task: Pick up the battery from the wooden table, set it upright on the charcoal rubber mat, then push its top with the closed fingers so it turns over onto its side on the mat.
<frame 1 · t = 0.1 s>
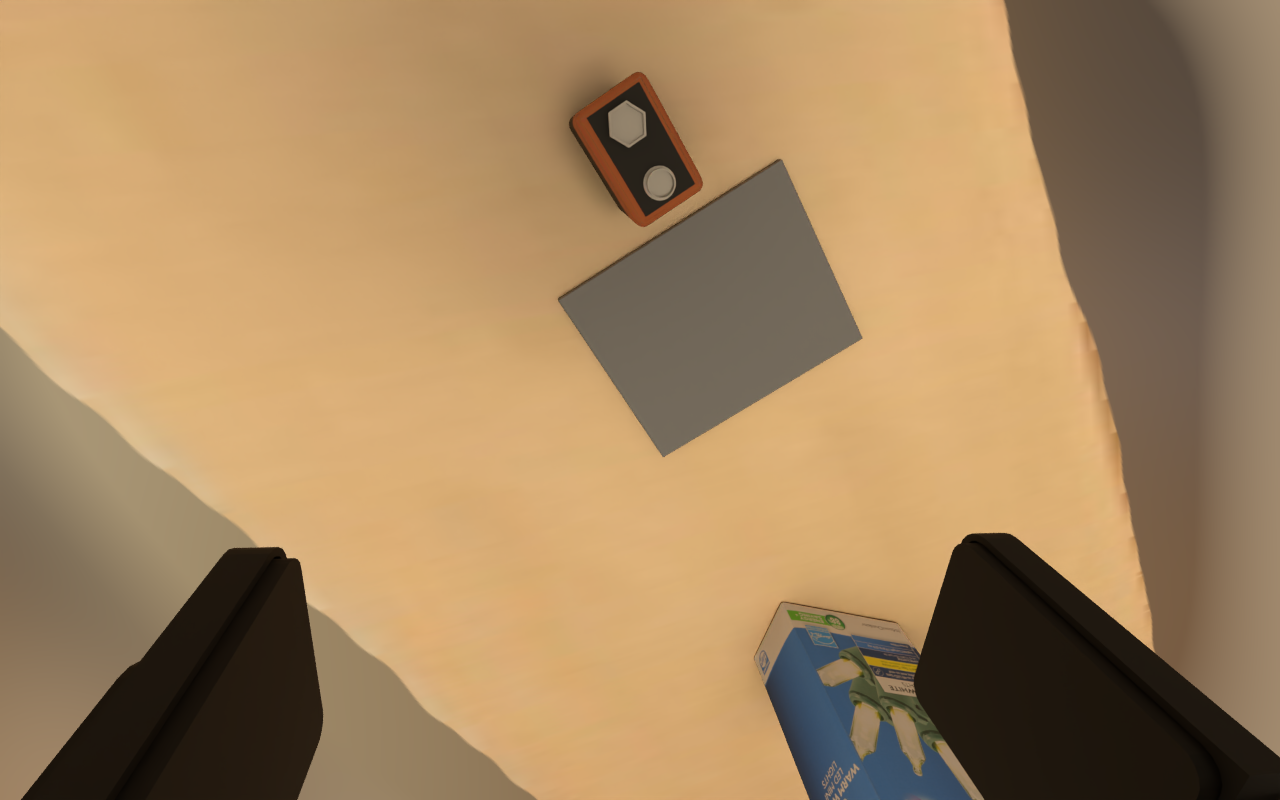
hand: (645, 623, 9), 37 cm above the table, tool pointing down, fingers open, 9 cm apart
mat: (715, 318, 47), on the table
battery: (621, 150, 41), on the table
string lights box: (823, 640, 61), on the table
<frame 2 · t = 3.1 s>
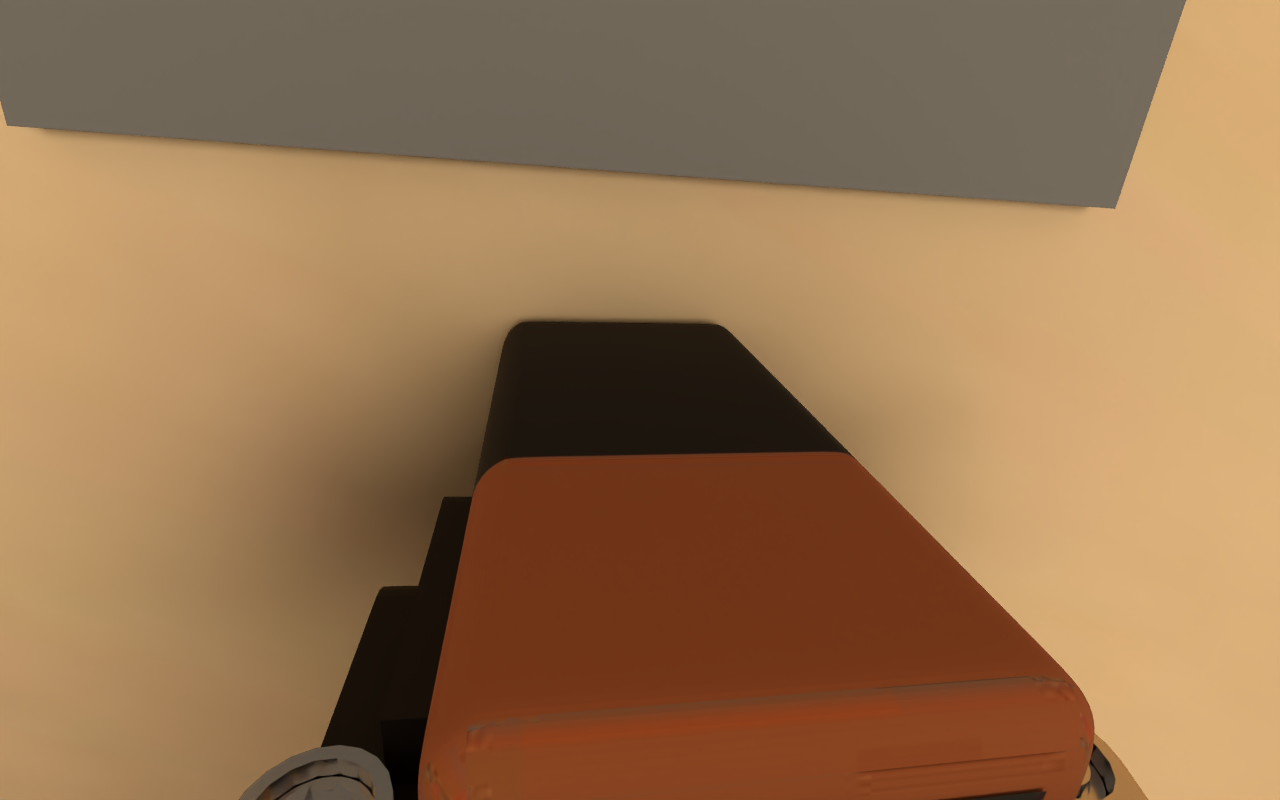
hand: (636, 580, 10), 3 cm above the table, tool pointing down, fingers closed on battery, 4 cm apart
battery: (613, 471, 13), on the table, touching gripper
when the fingers open (5 cm above the table, at t = 8.5 s): battery drops 1 cm, resting on mat.
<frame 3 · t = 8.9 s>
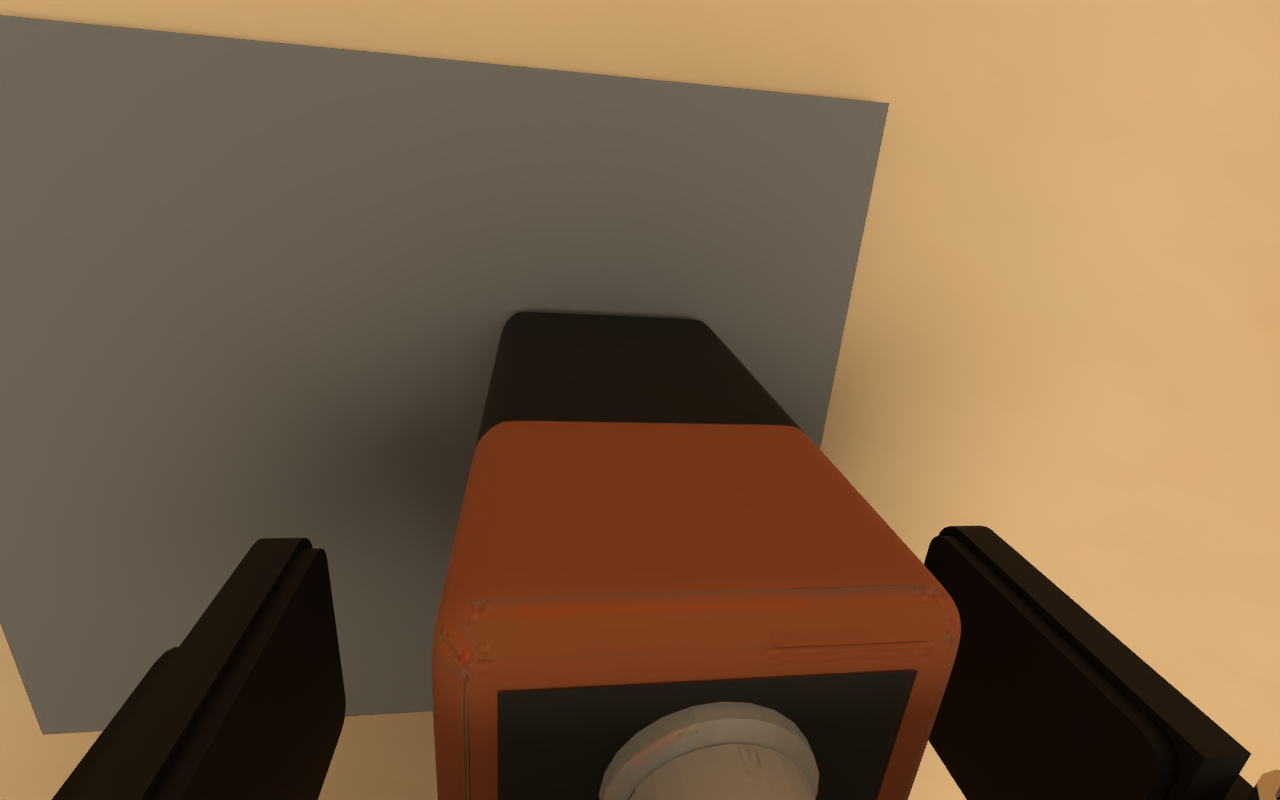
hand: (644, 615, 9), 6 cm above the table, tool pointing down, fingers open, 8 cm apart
mat: (428, 438, 14), on the table
battery: (599, 453, 14), resting on mat
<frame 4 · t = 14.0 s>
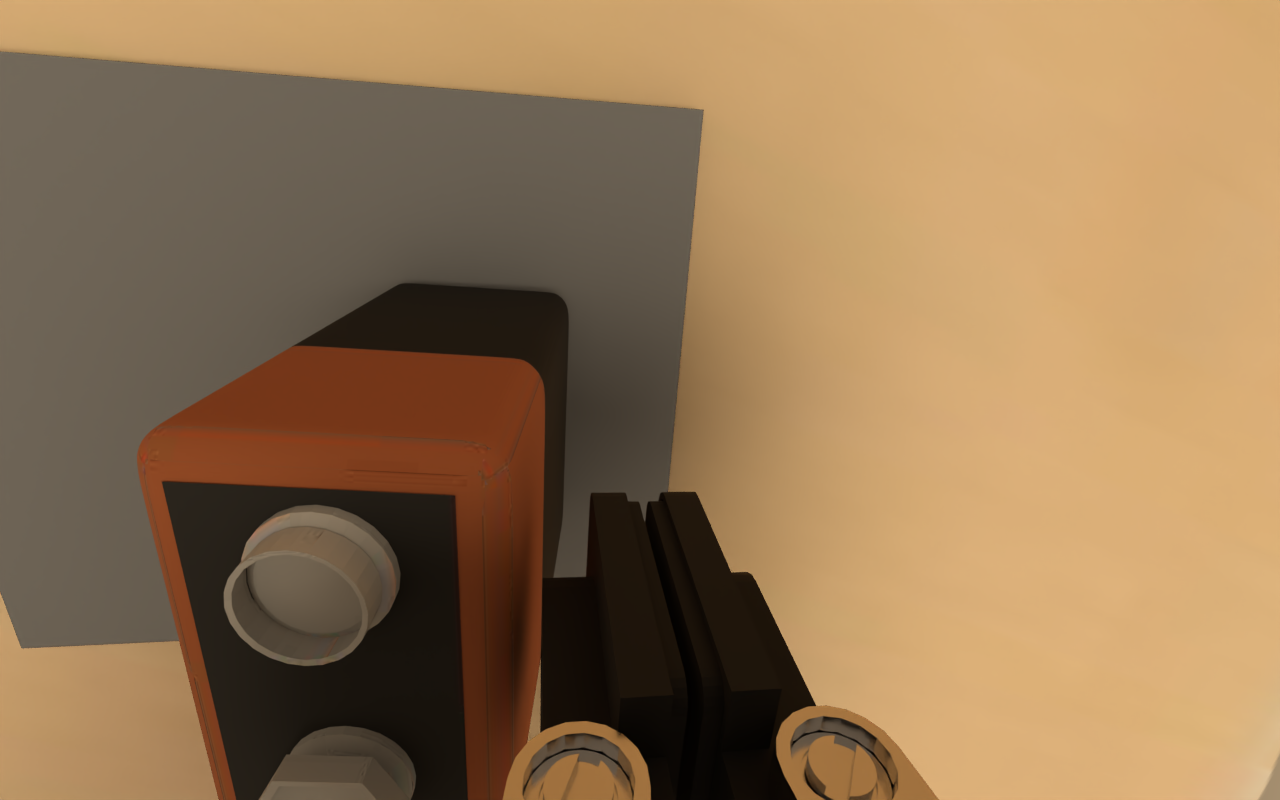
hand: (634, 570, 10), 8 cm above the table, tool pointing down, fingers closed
mat: (341, 392, 17), on the table
battery: (486, 408, 17), point 1 cm above the table, touching gripper, mat
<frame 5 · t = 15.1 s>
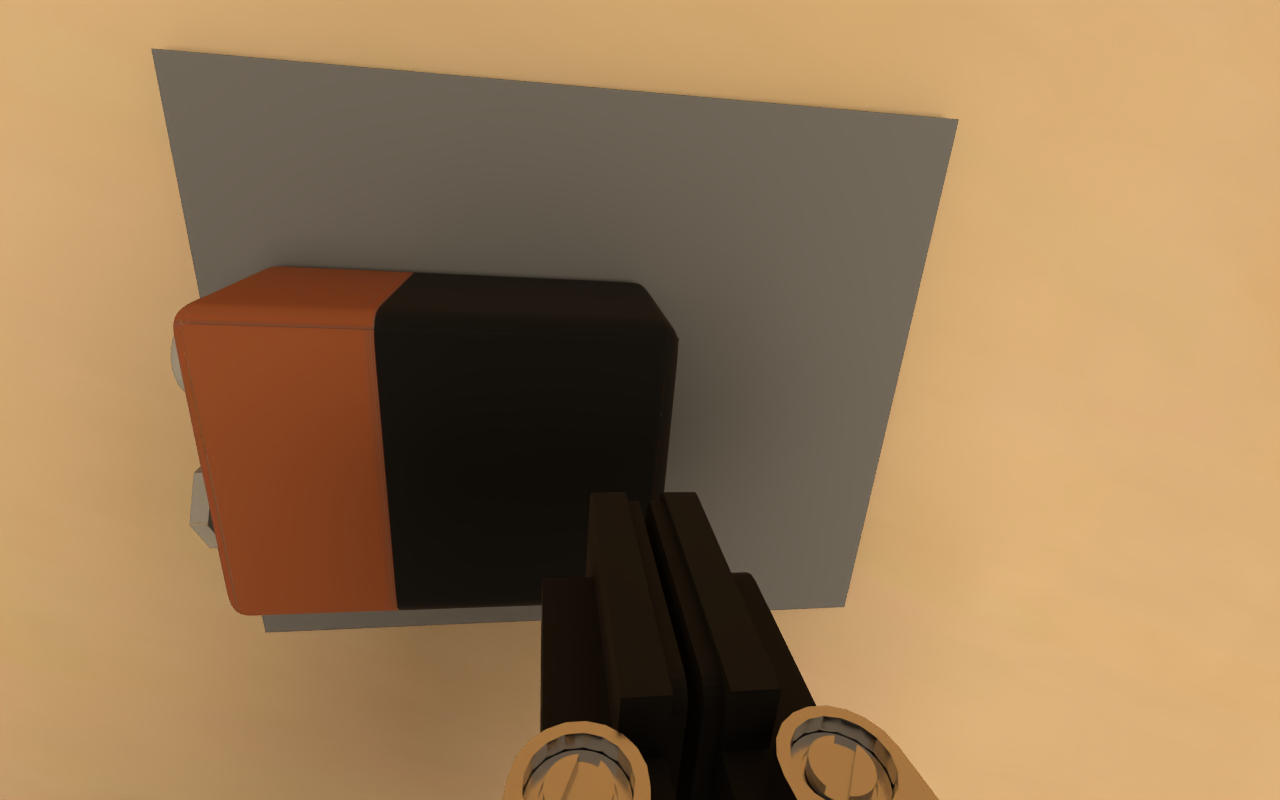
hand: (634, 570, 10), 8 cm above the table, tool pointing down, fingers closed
mat: (582, 388, 17), on the table
battery: (661, 437, 15), point 3 cm above the table, touching mat
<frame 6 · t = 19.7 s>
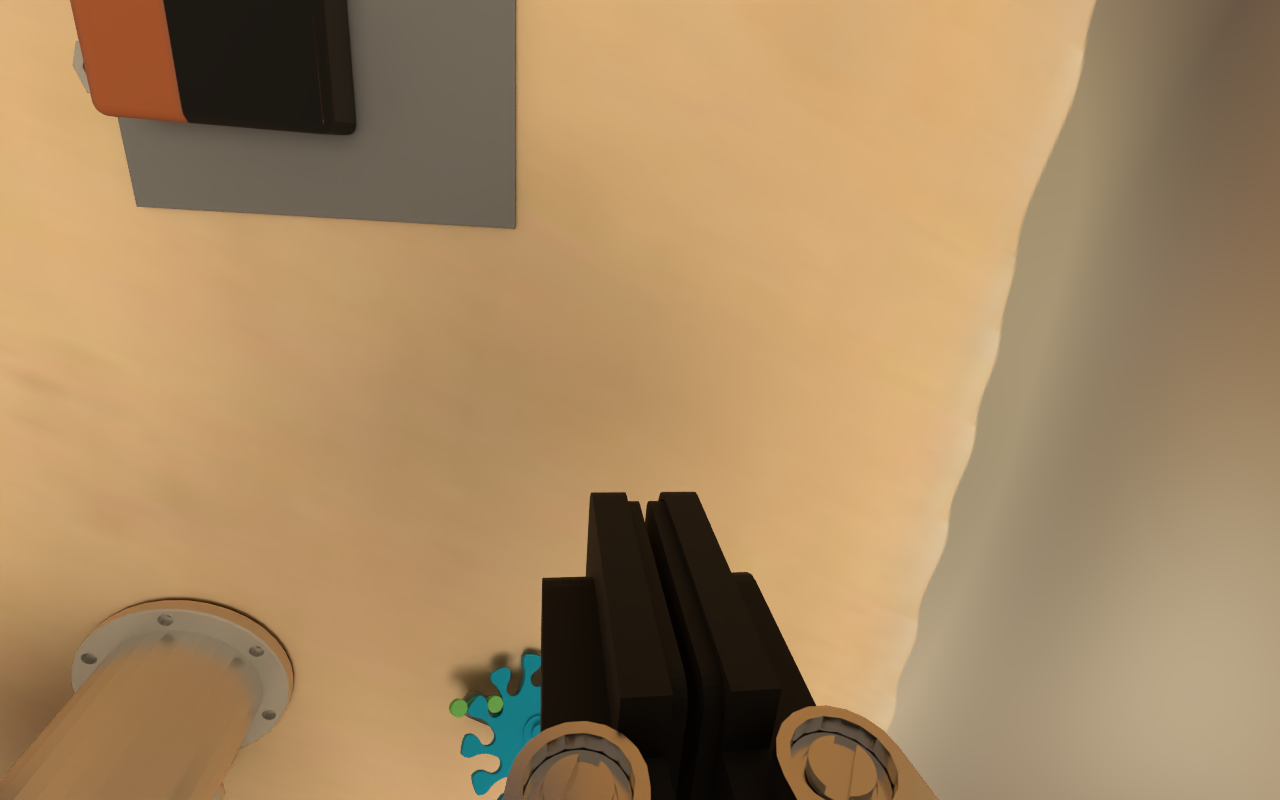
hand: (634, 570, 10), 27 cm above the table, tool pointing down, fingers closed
mat: (321, 52, 30), on the table
battery: (344, 52, 27), point 3 cm above the table, touching mat
gear: (530, 683, 46), on the table
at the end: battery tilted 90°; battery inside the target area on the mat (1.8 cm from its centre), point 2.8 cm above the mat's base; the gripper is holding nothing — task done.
